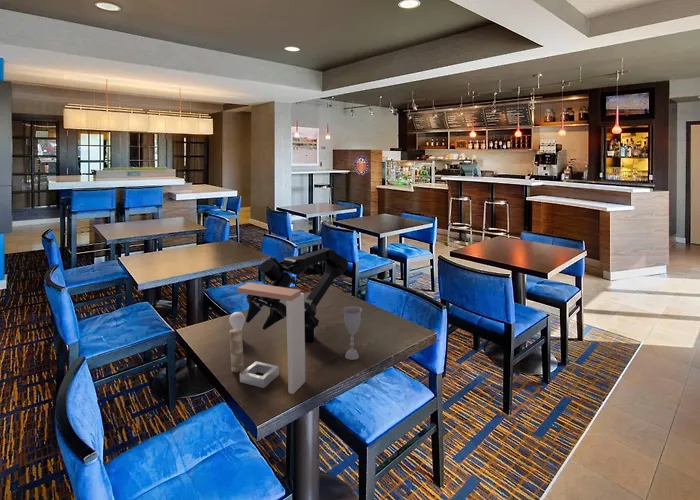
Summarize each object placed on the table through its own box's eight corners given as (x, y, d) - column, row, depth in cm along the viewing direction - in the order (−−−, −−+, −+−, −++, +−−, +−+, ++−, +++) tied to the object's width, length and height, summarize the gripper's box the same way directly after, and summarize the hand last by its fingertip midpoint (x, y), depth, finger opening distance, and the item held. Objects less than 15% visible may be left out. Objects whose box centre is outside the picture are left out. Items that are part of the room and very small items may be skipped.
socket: (256, 369, 146) (255, 361, 145) (279, 374, 143) (278, 366, 142) (240, 382, 138) (239, 373, 137) (263, 387, 135) (263, 379, 134)
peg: (244, 366, 148) (243, 328, 145) (242, 372, 144) (240, 333, 141) (233, 366, 148) (231, 328, 145) (230, 372, 144) (227, 333, 141)
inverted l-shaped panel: (256, 370, 145) (252, 280, 138) (305, 381, 139) (304, 288, 132) (242, 381, 138) (237, 287, 131) (292, 394, 131) (290, 295, 124)
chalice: (342, 352, 159) (342, 306, 155) (360, 351, 160) (361, 305, 156) (343, 361, 152) (343, 313, 148) (362, 360, 153) (363, 313, 149)
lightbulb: (242, 342, 166) (240, 315, 164) (227, 341, 168) (225, 314, 165) (248, 336, 172) (247, 310, 170) (234, 334, 173) (233, 309, 171)
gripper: (248, 271, 155) (224, 308, 149) (283, 281, 143) (257, 321, 137) (267, 286, 162) (244, 322, 157) (301, 297, 151) (277, 337, 145)
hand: (254, 325), depth 149 cm, fingers open, 9 cm apart
